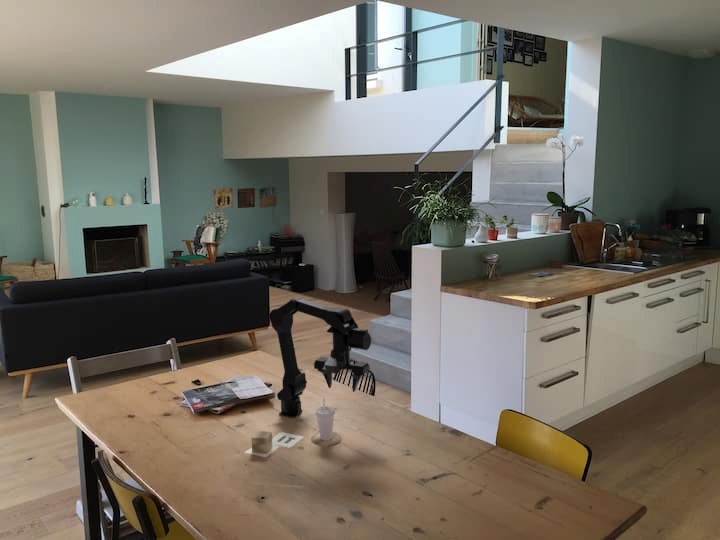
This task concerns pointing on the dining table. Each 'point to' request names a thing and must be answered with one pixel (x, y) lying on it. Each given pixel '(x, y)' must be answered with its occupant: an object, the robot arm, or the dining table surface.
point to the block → (261, 442)
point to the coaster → (334, 440)
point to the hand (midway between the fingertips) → (341, 389)
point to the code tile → (286, 439)
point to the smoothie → (325, 421)
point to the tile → (263, 453)
